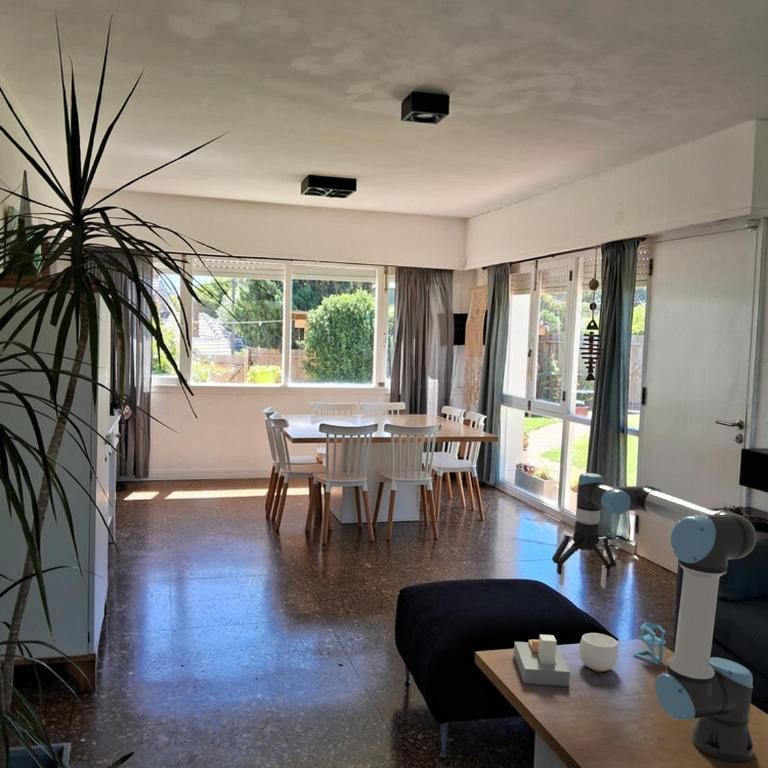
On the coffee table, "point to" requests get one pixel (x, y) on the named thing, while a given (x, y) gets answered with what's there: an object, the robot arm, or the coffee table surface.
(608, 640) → the cup
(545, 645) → the white rectangular block
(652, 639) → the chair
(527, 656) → the socket plate
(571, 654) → the coffee table surface
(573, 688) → the coffee table surface
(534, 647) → the block
